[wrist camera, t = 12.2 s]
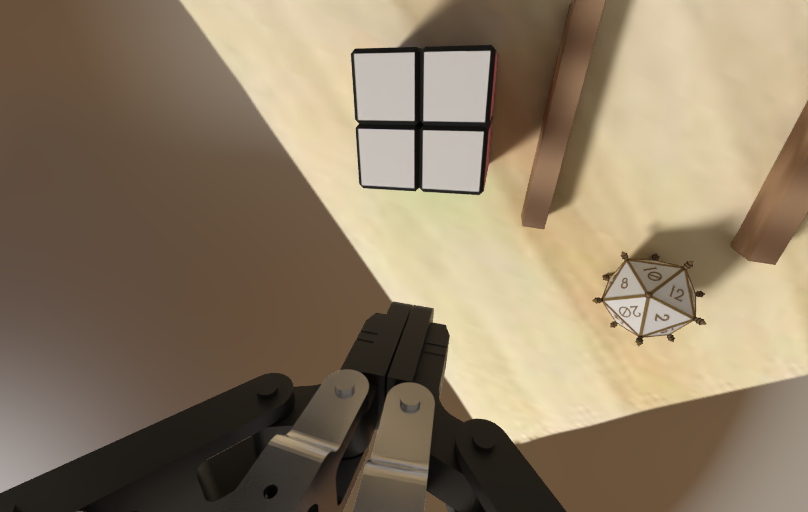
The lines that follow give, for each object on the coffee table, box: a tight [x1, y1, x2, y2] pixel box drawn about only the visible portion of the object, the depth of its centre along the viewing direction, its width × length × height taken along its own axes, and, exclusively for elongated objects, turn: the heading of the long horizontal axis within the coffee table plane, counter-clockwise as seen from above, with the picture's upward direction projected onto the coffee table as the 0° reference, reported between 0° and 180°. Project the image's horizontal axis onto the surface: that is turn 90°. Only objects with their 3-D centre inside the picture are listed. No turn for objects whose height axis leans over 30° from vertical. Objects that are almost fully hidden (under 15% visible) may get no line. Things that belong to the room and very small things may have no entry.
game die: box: [592, 252, 706, 346], centre depth 35 cm, size 9×8×10 cm
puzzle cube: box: [351, 45, 498, 195], centre depth 31 cm, size 10×10×10 cm
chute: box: [521, 0, 808, 265], centre depth 31 cm, size 18×21×3 cm
